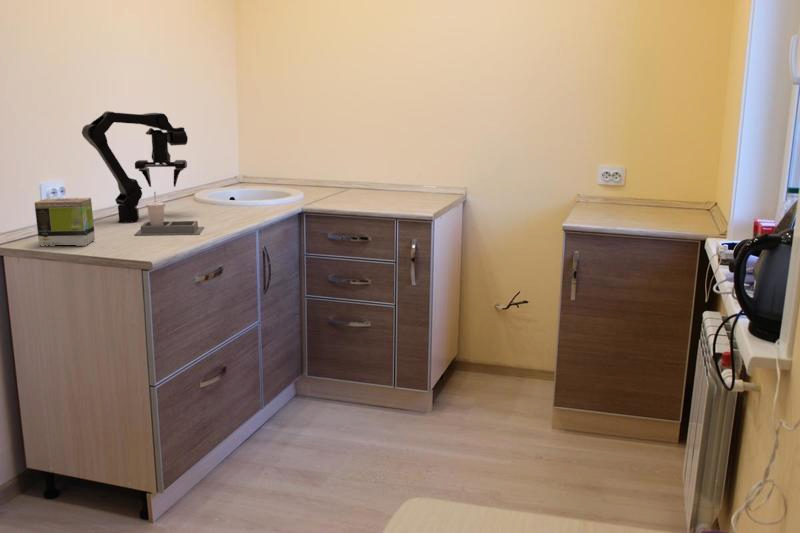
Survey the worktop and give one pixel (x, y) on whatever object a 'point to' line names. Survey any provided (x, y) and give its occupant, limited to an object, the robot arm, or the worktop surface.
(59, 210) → the tea box
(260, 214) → the worktop surface
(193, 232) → the bottle carrier
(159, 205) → the smoothie
